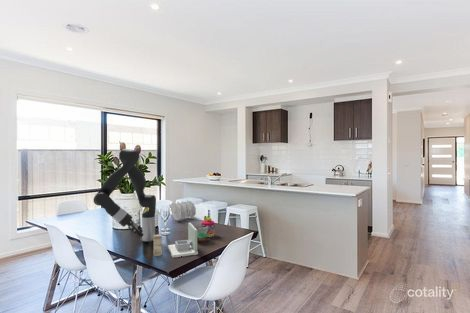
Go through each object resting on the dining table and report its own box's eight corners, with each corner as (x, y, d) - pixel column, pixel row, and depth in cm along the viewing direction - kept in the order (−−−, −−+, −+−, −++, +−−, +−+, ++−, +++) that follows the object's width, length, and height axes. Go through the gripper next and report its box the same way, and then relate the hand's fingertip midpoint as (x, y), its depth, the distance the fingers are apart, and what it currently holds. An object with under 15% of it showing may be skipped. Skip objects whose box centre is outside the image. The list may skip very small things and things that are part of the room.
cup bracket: (167, 247, 185) (167, 224, 185) (191, 244, 191) (191, 222, 191) (172, 257, 167) (172, 232, 166) (198, 254, 172) (198, 229, 172)
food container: (196, 244, 192) (196, 230, 192) (192, 241, 197) (192, 228, 197) (211, 240, 199) (211, 227, 199) (207, 238, 204) (207, 225, 204)
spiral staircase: (195, 221, 272) (175, 225, 253) (185, 211, 283) (165, 214, 263) (201, 206, 268) (181, 208, 249) (191, 196, 278) (171, 198, 259)
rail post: (153, 253, 173) (153, 235, 173) (160, 252, 175) (160, 234, 175) (154, 256, 169) (154, 237, 169) (161, 255, 171) (161, 236, 171)
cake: (217, 235, 213) (217, 216, 213) (207, 238, 205) (207, 218, 205) (208, 232, 220) (208, 214, 220) (198, 235, 212) (198, 216, 212)
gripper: (126, 214, 158) (147, 232, 163) (126, 210, 172) (145, 226, 176) (117, 224, 156) (138, 242, 161) (117, 219, 170) (137, 235, 174)
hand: (142, 234), depth 168 cm, fingers open, 8 cm apart
